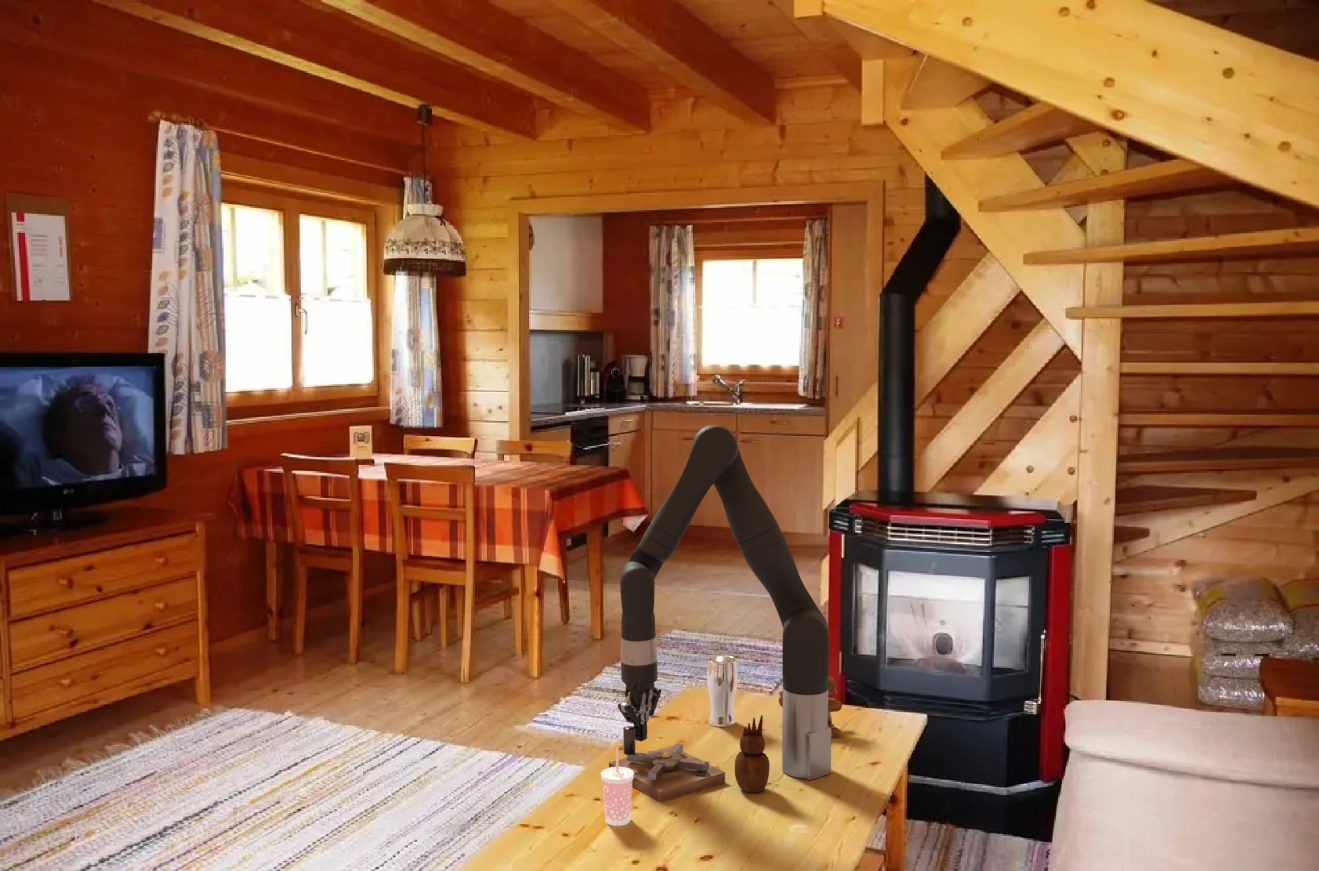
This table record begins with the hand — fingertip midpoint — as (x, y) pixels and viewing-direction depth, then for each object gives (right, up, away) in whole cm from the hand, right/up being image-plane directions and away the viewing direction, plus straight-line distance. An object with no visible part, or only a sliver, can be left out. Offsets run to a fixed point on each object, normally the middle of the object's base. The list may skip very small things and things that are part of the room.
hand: (640, 739), depth 226 cm
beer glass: (+18, -4, +26) cm, 32 cm away
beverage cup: (-4, -8, -25) cm, 27 cm away
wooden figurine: (+22, -7, -12) cm, 26 cm away
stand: (+5, -6, -5) cm, 10 cm away
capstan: (+5, -4, -5) cm, 8 cm away
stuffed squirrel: (+38, -4, +21) cm, 44 cm away
